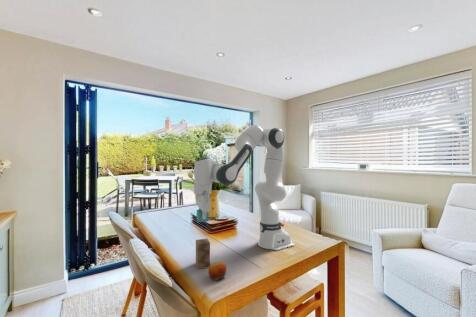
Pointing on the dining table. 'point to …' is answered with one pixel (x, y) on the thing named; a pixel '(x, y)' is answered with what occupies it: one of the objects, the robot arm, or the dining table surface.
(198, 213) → the teal block
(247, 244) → the dining table surface
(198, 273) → the dining table surface
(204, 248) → the tower top
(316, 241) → the dining table surface
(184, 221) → the dining table surface
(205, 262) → the block
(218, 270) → the fruit
